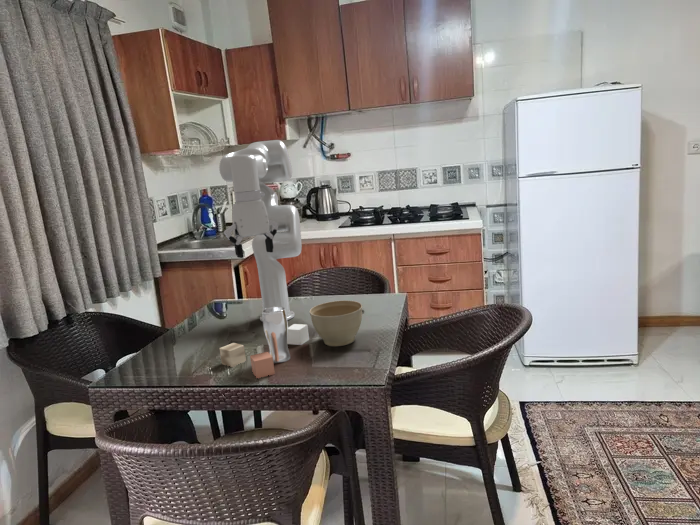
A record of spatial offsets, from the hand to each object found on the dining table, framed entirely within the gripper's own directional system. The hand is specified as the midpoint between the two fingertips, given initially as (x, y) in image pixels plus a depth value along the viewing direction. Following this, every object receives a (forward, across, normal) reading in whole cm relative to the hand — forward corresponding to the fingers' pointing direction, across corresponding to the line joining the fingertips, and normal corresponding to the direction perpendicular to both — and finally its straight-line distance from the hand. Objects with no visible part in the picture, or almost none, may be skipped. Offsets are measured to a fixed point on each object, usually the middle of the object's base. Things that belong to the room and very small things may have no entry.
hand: (255, 254), depth 158 cm
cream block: (+30, -10, +2) cm, 31 cm away
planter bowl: (+30, -18, +13) cm, 37 cm away
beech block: (+30, +12, +3) cm, 32 cm away
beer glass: (+30, +2, +11) cm, 32 cm away
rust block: (+30, +10, +17) cm, 36 cm away
